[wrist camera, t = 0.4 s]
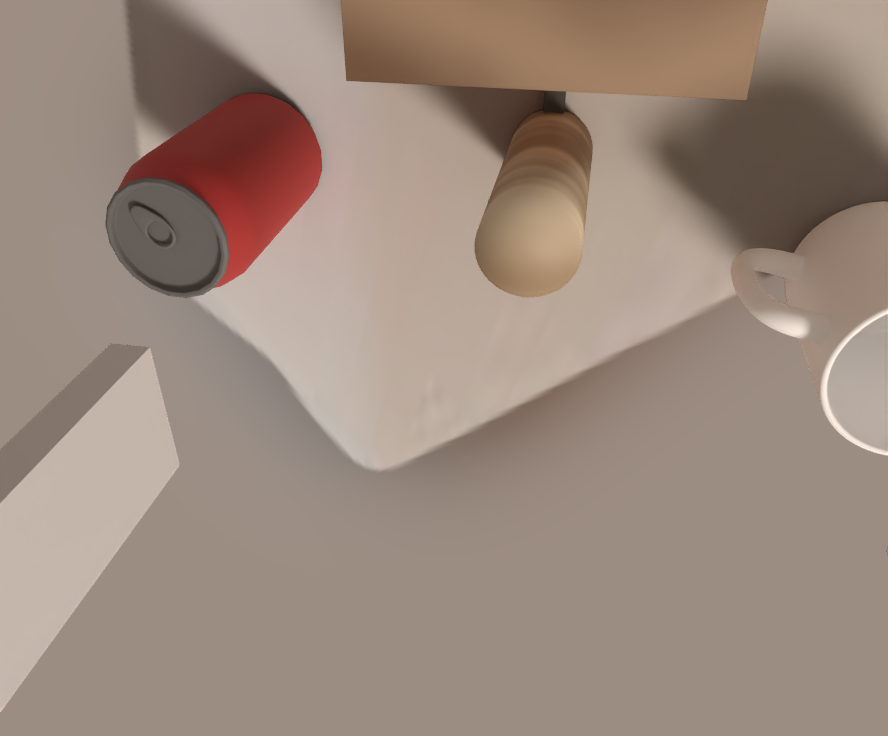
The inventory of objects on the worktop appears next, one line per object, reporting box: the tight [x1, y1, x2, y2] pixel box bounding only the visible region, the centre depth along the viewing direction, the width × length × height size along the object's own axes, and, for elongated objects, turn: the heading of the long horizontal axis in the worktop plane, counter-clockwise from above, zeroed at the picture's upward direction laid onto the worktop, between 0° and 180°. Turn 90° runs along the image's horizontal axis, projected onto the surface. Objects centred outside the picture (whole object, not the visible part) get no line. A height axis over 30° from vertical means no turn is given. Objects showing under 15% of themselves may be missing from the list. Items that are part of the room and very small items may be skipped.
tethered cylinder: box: [475, 90, 593, 297], centre depth 33 cm, size 14×6×12 cm, turn 0°
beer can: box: [106, 93, 322, 298], centre depth 39 cm, size 7×7×12 cm
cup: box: [731, 201, 888, 455], centre depth 37 cm, size 8×12×10 cm
